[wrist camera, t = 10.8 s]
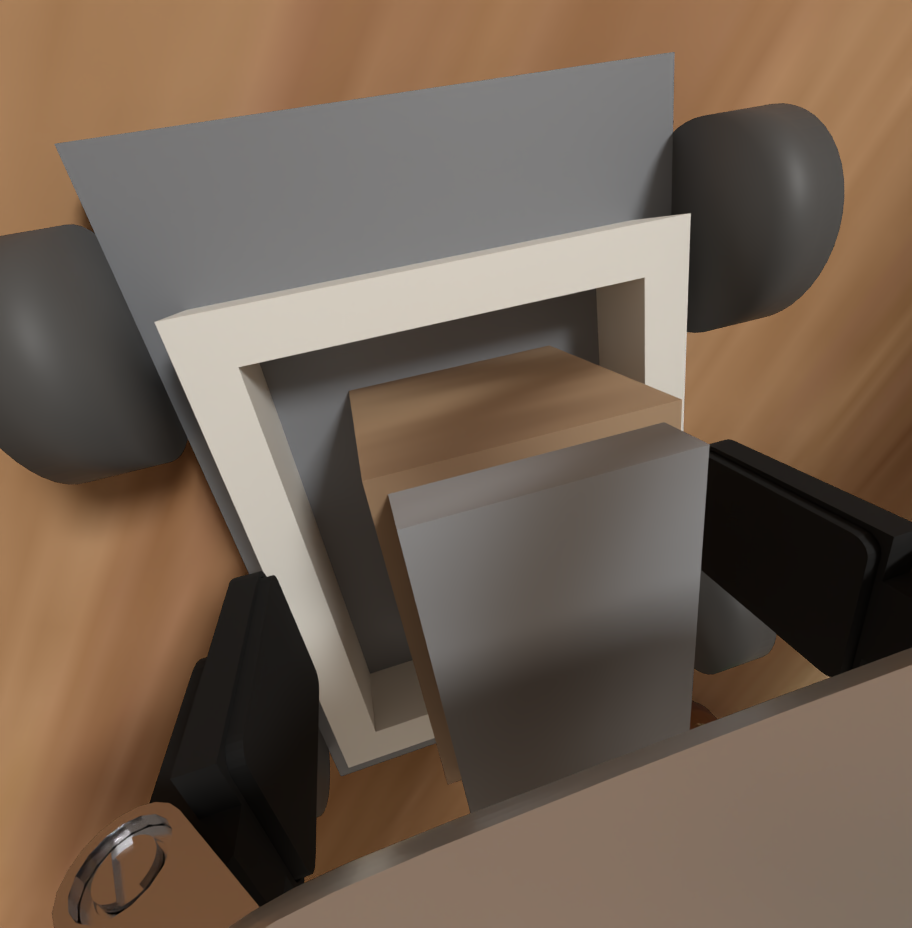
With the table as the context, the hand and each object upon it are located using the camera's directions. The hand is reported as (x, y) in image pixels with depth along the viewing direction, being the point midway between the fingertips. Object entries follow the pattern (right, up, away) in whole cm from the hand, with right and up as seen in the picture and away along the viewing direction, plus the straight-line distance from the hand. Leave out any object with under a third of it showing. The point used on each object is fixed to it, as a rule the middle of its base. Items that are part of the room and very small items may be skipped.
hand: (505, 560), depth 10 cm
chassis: (-1, +2, +4) cm, 4 cm away
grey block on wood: (-1, +1, +3) cm, 3 cm away
